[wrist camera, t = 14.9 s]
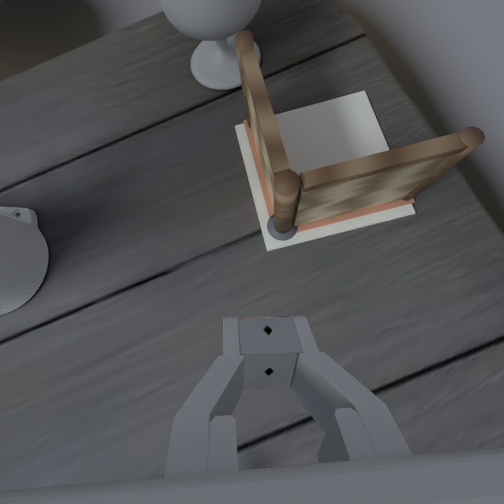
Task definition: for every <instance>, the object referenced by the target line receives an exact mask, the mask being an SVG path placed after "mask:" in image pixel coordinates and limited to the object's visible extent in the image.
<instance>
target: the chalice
mask: <svg viewBox="0 0 504 504" xmlns="http://www.w3.org/2000/svg"><path fill="white" fill-rule="evenodd" d="M159 2H160V4H161V7H162V9H163V11H164V13H165V15H166V17H167V18H168V20H169V21H170V22H171V23H172V24H173V26H174V27H175V28H176V29H178V30H179V31H180V32H182V33H183V34H185V35H186V36H188V37H191V38H193V39H197V40H203V41H202V42H201V43H200V44H199V45H198V46H197V48H196V49H195V51H194V52H193V55H192V57H191V63H190V65H191V71H192V74H193V76H194V78H195V79H196V80H197V81H198V82H199V83H200V84H202V85H203V86H205V87H207V88H210V89H214V90H229V89H234V88H236V87H239V86H241V85H242V84H241V77H240V71H239V64H238V57H237V50H236V44H235V36H236V34H237V33H238V32H239V31H241V30H242V29H243V28H245V27H246V26H247V25H248V24H249V23H250V21H251V20H252V19H253V17H254V16H255V14H256V12H257V11H258V9H259V6H260V3H261V0H159ZM254 50H255V54H256V57H257V60H258V63H259V65H260V63H261V53H260V49H259V47H258V45H257V44H256V42H255V41H254Z"/></svg>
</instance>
